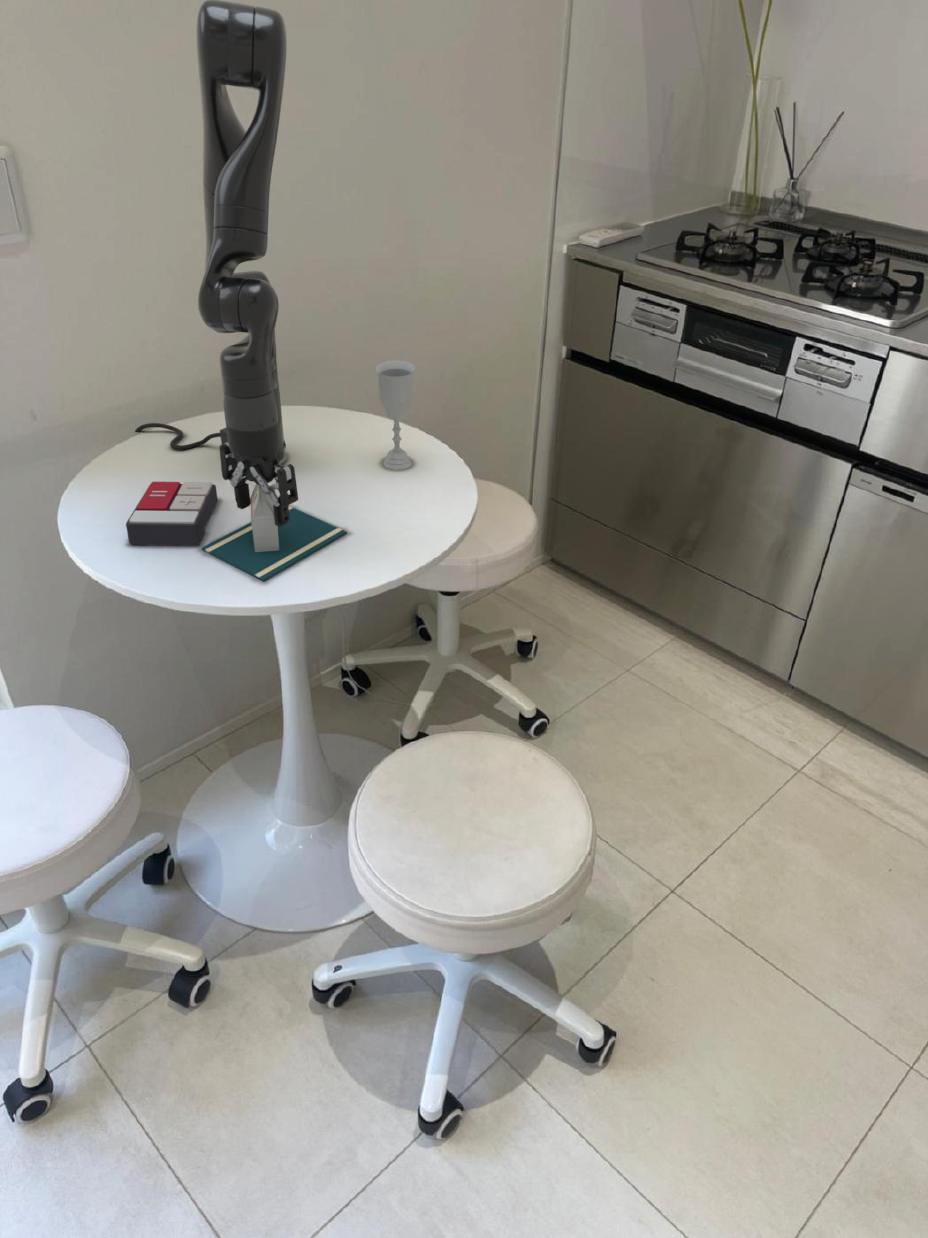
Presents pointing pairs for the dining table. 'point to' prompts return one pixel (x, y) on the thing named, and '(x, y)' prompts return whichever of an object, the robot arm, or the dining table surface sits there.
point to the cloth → (294, 545)
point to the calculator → (172, 513)
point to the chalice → (396, 404)
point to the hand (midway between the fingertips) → (262, 515)
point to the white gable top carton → (263, 521)
